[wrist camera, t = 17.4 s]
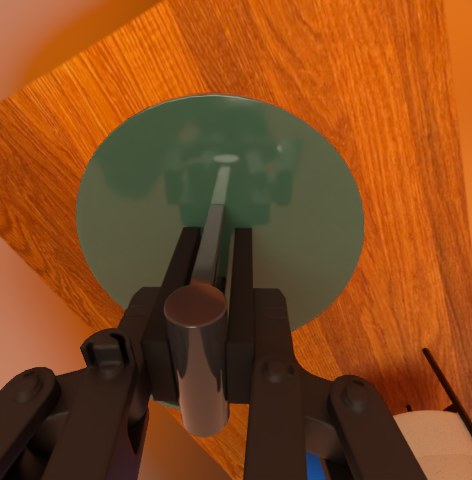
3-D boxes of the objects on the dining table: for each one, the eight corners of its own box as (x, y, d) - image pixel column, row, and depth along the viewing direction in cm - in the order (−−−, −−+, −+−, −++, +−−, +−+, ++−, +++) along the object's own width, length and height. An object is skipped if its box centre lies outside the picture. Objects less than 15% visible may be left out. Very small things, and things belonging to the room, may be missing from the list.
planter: (365, 420, 54) (430, 629, 35) (322, 370, 48) (372, 590, 28) (456, 392, 49) (593, 617, 30) (421, 333, 43) (565, 567, 23)
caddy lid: (116, 327, 20) (38, 489, 12) (50, 90, 13) (-220, 140, 5) (333, 332, 19) (385, 503, 12) (388, 90, 12) (593, 144, 5)
